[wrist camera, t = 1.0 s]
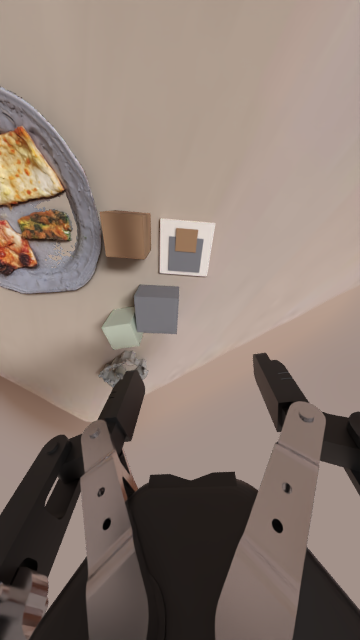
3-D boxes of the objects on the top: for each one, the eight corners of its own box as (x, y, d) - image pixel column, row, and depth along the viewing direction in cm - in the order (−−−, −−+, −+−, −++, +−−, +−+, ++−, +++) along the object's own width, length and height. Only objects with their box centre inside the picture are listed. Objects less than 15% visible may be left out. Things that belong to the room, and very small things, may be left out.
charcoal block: (142, 317, 36) (137, 332, 31) (140, 284, 32) (133, 296, 27) (177, 318, 36) (176, 334, 32) (179, 286, 32) (178, 298, 28)
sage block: (122, 330, 37) (113, 349, 32) (113, 309, 34) (101, 327, 29) (145, 326, 37) (139, 345, 32) (137, 305, 34) (129, 323, 29)
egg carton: (130, 345, 40) (125, 359, 36) (152, 364, 43) (150, 378, 40) (99, 365, 43) (92, 379, 40) (122, 381, 47) (117, 395, 43)
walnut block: (119, 247, 28) (106, 256, 23) (115, 210, 25) (99, 211, 20) (151, 249, 28) (144, 259, 23) (150, 213, 26) (142, 215, 21)
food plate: (-15, 292, 32) (-34, 301, 29) (-150, 102, 20) (-207, 83, 17) (121, 283, 32) (115, 290, 29) (69, 82, 20) (50, 60, 17)
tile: (160, 272, 30) (159, 273, 30) (160, 218, 26) (160, 218, 25) (206, 275, 30) (207, 277, 30) (214, 223, 26) (215, 223, 25)
